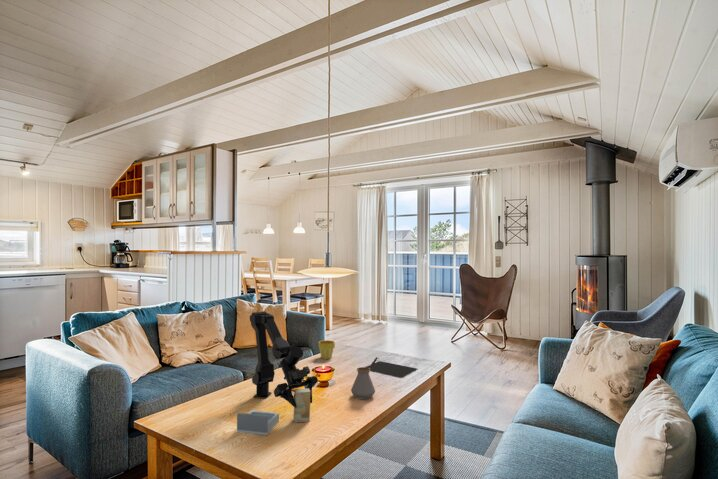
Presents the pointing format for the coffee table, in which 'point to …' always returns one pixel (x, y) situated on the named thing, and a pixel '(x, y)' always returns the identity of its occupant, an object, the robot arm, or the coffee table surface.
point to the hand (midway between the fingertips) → (303, 404)
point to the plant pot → (326, 348)
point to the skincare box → (302, 405)
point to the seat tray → (257, 422)
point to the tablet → (391, 369)
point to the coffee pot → (363, 383)
